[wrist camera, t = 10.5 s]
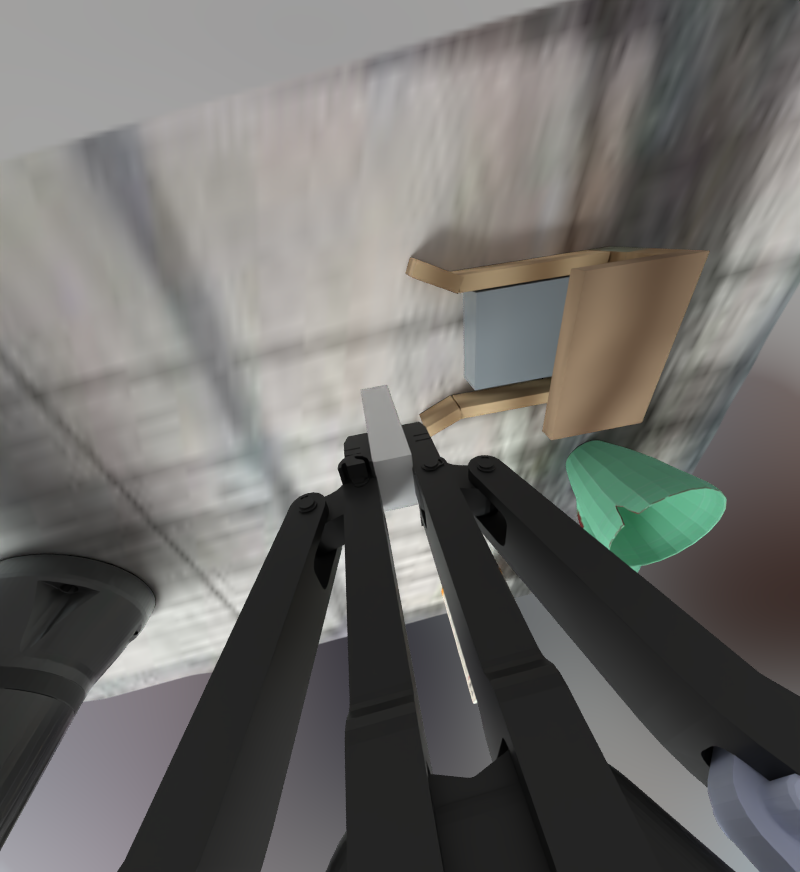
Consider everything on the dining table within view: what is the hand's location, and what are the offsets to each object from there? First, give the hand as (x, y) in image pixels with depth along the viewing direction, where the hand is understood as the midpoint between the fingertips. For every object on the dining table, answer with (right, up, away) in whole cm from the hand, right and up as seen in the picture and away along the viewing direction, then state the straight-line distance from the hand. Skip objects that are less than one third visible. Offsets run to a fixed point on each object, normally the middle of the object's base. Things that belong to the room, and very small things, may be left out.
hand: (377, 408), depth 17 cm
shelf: (+10, +6, +7) cm, 13 cm away
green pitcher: (+22, -6, +17) cm, 29 cm away
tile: (+11, +7, +7) cm, 15 cm away
